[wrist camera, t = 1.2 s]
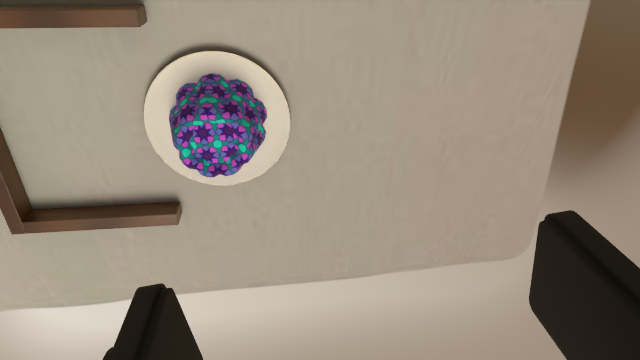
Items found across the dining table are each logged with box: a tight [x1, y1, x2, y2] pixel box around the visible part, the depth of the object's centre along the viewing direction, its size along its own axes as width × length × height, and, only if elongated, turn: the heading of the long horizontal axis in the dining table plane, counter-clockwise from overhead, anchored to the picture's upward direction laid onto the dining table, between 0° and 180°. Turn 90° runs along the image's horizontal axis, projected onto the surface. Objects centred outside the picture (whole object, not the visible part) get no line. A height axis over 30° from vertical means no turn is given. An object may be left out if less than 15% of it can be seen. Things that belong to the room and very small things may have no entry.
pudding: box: [144, 51, 290, 185], centre depth 34 cm, size 12×12×5 cm
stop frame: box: [0, 5, 182, 234], centre depth 34 cm, size 14×18×2 cm
